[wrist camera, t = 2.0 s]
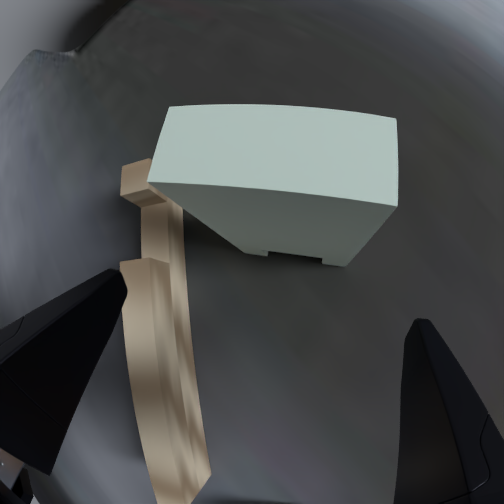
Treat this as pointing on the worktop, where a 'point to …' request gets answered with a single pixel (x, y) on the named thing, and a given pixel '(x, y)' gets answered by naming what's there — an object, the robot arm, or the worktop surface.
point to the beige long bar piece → (162, 346)
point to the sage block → (281, 175)
